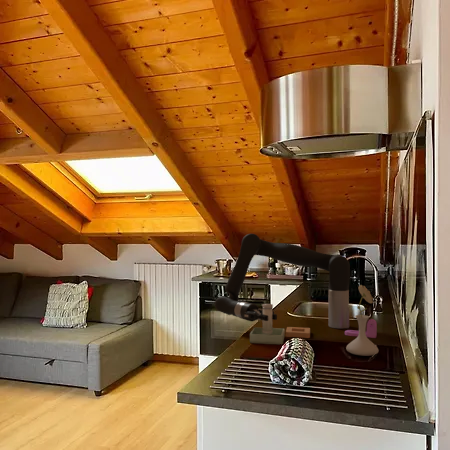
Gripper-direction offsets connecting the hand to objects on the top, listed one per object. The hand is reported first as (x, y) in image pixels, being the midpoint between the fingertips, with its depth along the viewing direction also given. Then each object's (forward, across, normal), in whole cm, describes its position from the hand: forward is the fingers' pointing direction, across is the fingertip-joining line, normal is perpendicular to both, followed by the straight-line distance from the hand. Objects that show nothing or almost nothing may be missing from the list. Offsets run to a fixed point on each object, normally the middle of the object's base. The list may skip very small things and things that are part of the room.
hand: (271, 317), depth 184 cm
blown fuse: (-3, 0, +7) cm, 8 cm away
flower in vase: (+32, +16, +10) cm, 37 cm away
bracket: (+13, +39, +10) cm, 42 cm away
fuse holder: (-3, +17, +10) cm, 20 cm away
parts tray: (-3, 0, +10) cm, 10 cm away
